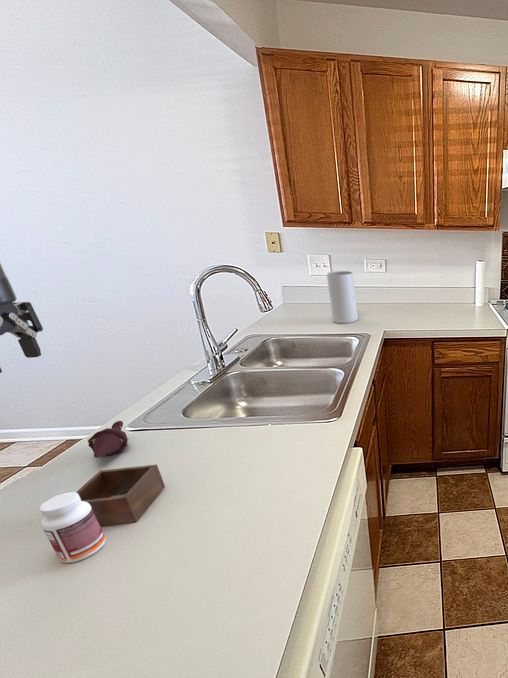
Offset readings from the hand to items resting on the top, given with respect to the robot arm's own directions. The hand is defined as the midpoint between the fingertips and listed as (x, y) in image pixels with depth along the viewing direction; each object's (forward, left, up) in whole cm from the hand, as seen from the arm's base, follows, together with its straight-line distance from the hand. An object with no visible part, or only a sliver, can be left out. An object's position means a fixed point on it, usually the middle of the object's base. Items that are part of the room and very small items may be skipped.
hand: (14, 365), depth 73 cm
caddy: (+12, -6, -30) cm, 33 cm away
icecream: (-2, +16, -30) cm, 34 cm away
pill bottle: (+12, -17, -30) cm, 37 cm away
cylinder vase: (+41, +130, -30) cm, 140 cm away
